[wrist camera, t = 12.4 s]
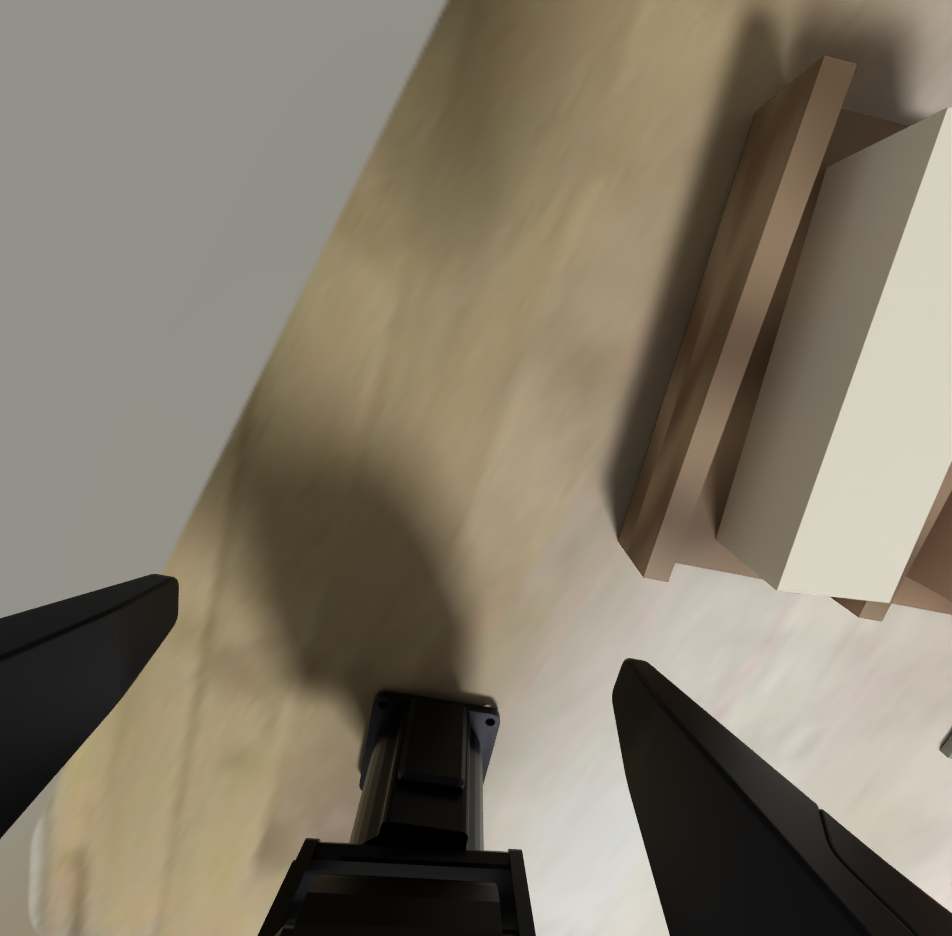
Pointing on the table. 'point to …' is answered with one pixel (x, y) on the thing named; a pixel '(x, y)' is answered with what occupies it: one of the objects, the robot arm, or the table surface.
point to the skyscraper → (947, 747)
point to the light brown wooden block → (936, 555)
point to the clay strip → (856, 380)
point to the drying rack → (749, 336)
